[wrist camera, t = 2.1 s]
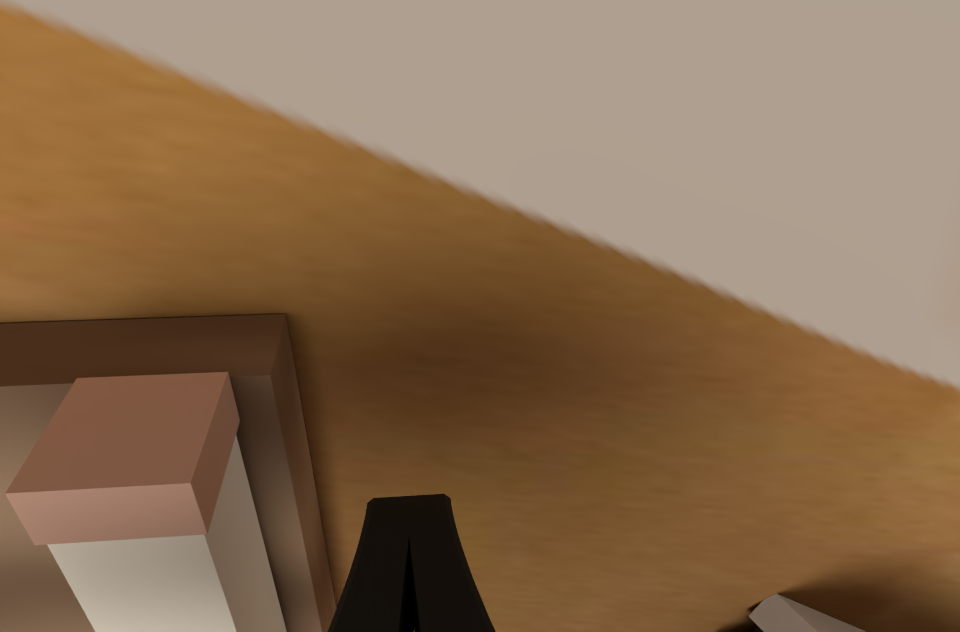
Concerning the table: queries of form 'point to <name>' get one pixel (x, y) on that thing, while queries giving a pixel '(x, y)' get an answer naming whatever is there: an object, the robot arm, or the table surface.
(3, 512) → the stool seat
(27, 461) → the folding leg
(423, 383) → the table surface
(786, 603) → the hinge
